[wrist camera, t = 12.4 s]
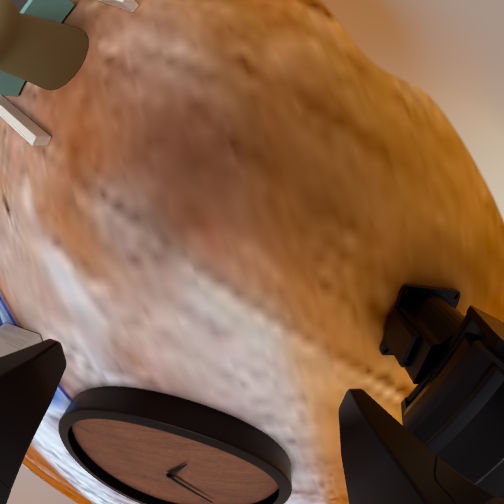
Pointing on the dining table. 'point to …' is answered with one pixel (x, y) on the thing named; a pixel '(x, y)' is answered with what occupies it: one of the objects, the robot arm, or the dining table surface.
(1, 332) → the supplement box
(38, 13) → the pusher paddle
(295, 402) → the dining table surface
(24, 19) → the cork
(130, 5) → the pusher lane
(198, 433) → the wall clock
